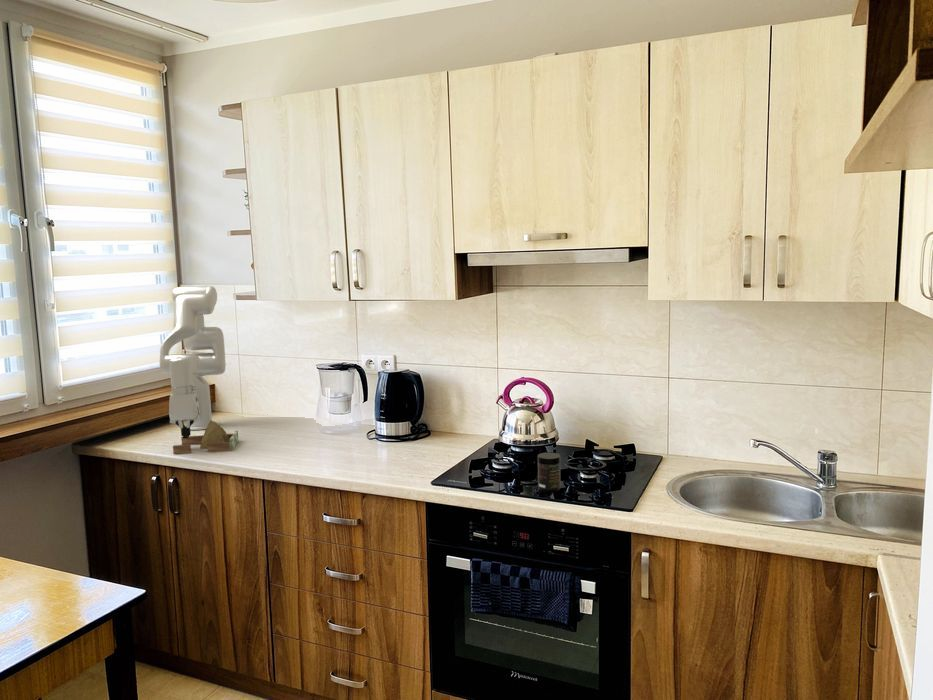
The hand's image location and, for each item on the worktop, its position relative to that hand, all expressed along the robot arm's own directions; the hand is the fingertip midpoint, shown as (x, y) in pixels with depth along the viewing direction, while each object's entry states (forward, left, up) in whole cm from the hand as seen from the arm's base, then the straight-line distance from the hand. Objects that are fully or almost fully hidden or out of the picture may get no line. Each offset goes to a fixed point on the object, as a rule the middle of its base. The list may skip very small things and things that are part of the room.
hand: (186, 437), depth 269 cm
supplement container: (+75, +121, -4) cm, 142 cm away
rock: (+1, +11, -5) cm, 12 cm away
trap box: (-3, +7, -4) cm, 9 cm away
